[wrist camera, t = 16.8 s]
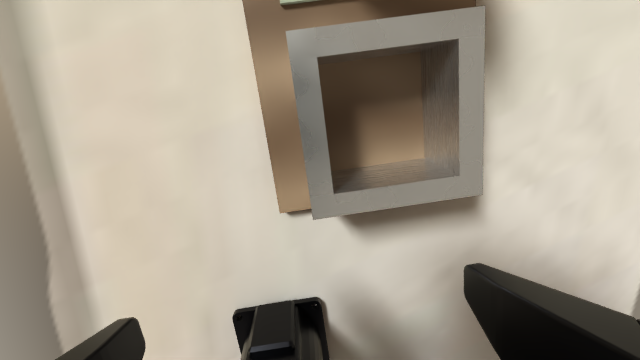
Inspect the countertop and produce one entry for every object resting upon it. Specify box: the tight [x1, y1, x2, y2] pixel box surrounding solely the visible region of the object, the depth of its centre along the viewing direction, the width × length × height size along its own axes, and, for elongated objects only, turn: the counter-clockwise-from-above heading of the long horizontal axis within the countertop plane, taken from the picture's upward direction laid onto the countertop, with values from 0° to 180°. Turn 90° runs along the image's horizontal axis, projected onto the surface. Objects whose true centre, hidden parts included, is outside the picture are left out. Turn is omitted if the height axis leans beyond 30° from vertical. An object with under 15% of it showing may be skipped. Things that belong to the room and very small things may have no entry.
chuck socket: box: [286, 6, 485, 220], centre depth 17 cm, size 9×9×4 cm
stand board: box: [242, 0, 476, 213], centre depth 18 cm, size 22×13×1 cm, turn 7°
